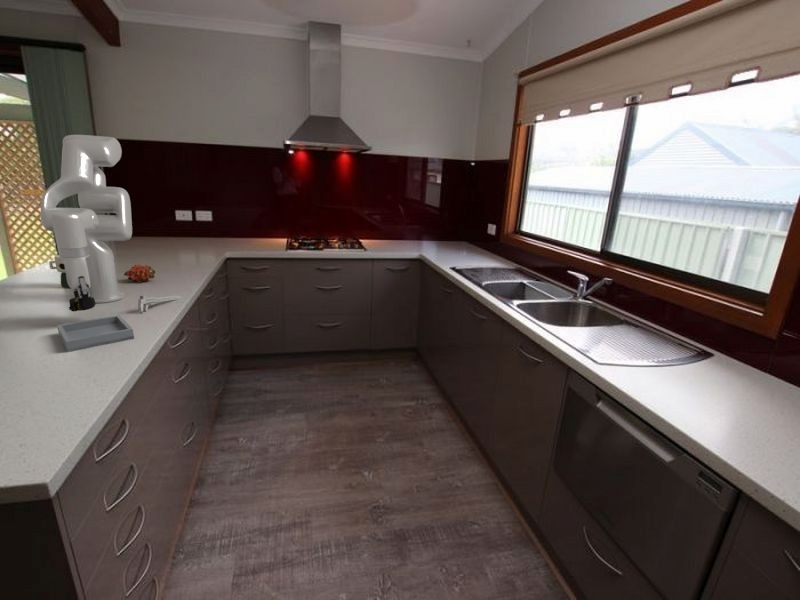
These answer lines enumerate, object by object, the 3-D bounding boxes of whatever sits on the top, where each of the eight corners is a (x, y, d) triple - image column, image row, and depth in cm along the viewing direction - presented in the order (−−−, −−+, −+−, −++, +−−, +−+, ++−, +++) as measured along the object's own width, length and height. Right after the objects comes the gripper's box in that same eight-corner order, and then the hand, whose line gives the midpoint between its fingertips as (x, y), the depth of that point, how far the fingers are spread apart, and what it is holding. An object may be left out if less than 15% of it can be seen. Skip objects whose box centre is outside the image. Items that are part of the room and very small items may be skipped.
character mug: (54, 290, 166) (48, 258, 162) (53, 286, 171) (47, 255, 168) (88, 287, 173) (82, 256, 169) (86, 283, 178) (81, 253, 174)
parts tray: (59, 334, 126) (57, 325, 125) (120, 323, 137) (119, 314, 136) (67, 352, 115) (65, 341, 114) (134, 338, 126) (132, 329, 125)
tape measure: (70, 307, 137) (68, 296, 136) (96, 304, 141) (94, 293, 139) (70, 314, 132) (67, 303, 130) (96, 310, 136) (94, 300, 134)
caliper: (142, 314, 147) (139, 297, 145) (139, 314, 147) (136, 296, 145) (182, 298, 166) (180, 282, 164) (179, 297, 167) (177, 282, 165)
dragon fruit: (158, 284, 187) (128, 289, 183) (158, 270, 191) (128, 275, 188) (152, 272, 180) (121, 277, 176) (151, 258, 184) (121, 262, 181)
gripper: (54, 247, 133) (65, 300, 139) (63, 259, 122) (75, 315, 128) (83, 245, 139) (92, 295, 144) (94, 256, 127) (104, 310, 133)
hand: (84, 304), depth 136 cm, fingers closed on tape measure, 7 cm apart
